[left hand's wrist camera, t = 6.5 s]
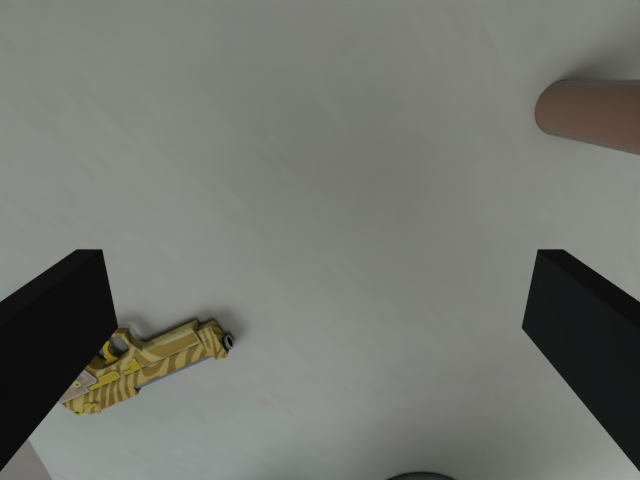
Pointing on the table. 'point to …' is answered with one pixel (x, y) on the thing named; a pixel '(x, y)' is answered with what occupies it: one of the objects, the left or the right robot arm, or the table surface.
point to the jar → (593, 112)
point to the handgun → (142, 365)
